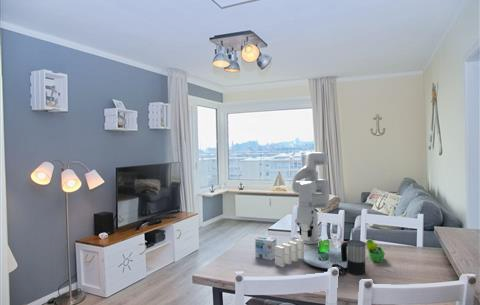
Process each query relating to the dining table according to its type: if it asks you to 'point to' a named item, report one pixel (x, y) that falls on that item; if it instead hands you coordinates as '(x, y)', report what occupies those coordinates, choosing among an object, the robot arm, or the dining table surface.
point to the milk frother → (353, 257)
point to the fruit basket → (375, 251)
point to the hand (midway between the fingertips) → (305, 235)
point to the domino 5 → (304, 232)
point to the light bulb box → (265, 247)
